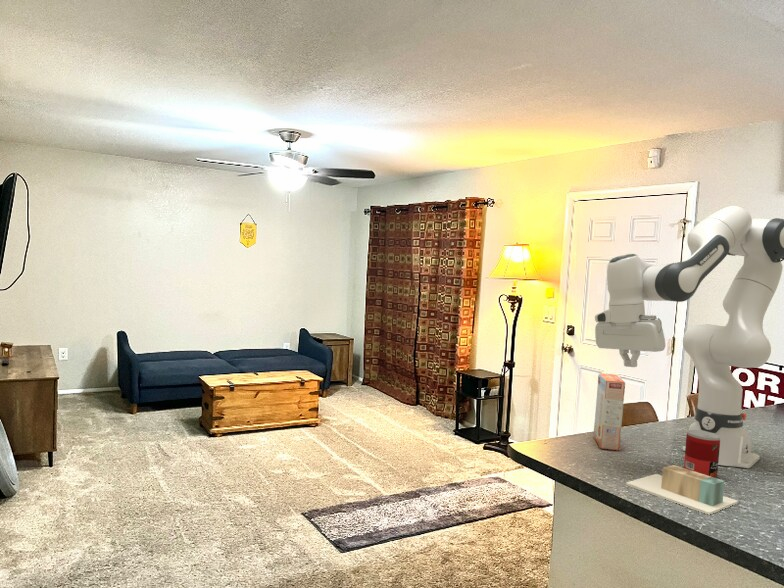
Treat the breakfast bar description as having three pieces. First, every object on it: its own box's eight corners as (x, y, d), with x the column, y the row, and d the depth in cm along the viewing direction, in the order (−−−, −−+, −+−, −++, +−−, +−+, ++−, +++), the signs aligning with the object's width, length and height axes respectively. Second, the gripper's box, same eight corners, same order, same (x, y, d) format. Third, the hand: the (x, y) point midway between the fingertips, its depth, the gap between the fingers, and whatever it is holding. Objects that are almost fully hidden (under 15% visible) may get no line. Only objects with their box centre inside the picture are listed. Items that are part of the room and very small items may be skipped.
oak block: (673, 464, 144) (724, 480, 134) (671, 484, 144) (722, 502, 134) (662, 468, 141) (714, 484, 131) (661, 488, 141) (712, 506, 131)
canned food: (716, 482, 150) (719, 439, 149) (682, 474, 154) (685, 433, 154) (717, 474, 156) (721, 433, 156) (684, 467, 161) (688, 428, 160)
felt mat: (656, 476, 152) (656, 473, 152) (737, 503, 135) (738, 500, 135) (625, 484, 143) (625, 482, 143) (709, 515, 127) (709, 512, 127)
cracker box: (620, 451, 172) (626, 381, 171) (599, 449, 173) (604, 379, 172) (612, 439, 185) (617, 374, 185) (592, 436, 187) (597, 372, 186)
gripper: (669, 314, 148) (672, 368, 148) (606, 314, 166) (609, 362, 166) (651, 316, 145) (655, 371, 145) (590, 316, 163) (593, 365, 163)
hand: (630, 366), depth 156 cm, fingers closed
